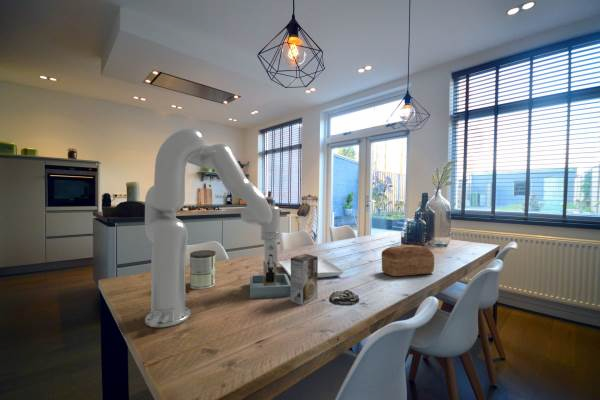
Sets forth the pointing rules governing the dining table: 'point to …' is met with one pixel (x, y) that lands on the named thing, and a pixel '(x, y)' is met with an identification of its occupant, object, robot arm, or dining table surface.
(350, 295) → the dark grey coiled lump
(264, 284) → the oak block
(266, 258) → the robot arm
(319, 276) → the square plate
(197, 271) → the coffee can
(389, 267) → the bread
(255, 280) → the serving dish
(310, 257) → the coffee box
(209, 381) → the dining table surface
